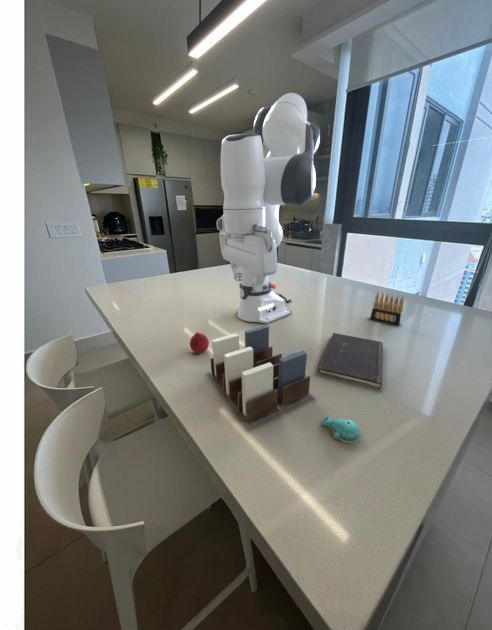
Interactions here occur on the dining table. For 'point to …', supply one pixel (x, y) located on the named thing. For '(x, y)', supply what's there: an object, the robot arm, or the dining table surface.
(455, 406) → the dining table surface
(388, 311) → the ammunition clip
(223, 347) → the cream book
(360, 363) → the hardcover book
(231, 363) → the cream book
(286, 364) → the grey book
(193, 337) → the onion
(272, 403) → the book rack
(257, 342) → the grey book
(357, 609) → the dining table surface
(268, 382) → the cream book
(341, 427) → the whale figurine
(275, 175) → the robot arm
